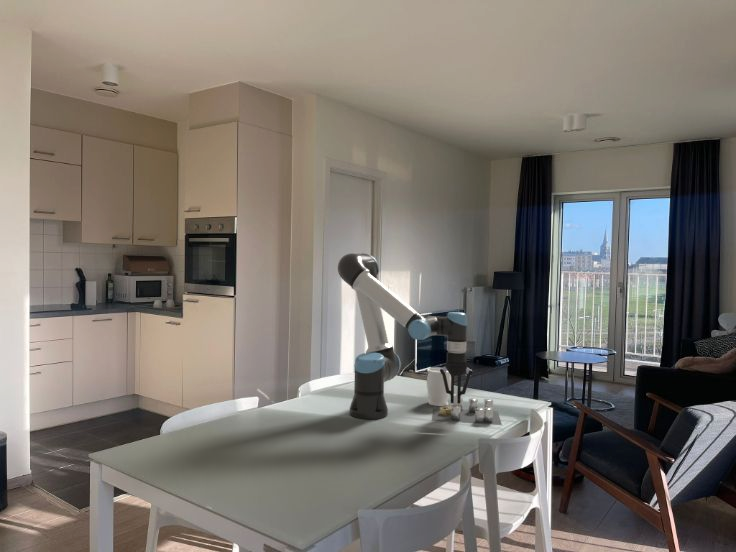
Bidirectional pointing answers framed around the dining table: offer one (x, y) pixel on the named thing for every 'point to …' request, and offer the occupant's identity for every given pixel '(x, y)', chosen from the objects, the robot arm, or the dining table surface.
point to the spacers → (474, 410)
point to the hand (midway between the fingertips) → (455, 411)
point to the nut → (445, 411)
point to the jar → (437, 387)
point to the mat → (463, 417)
